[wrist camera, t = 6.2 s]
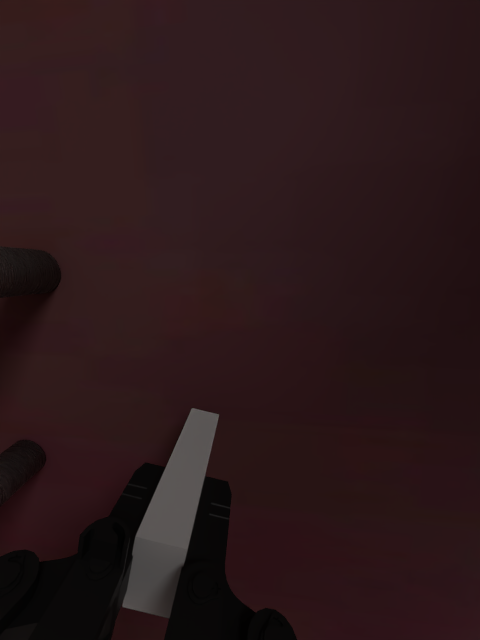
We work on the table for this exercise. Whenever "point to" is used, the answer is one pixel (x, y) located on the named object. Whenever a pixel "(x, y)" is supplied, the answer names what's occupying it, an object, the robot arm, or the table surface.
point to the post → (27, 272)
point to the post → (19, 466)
